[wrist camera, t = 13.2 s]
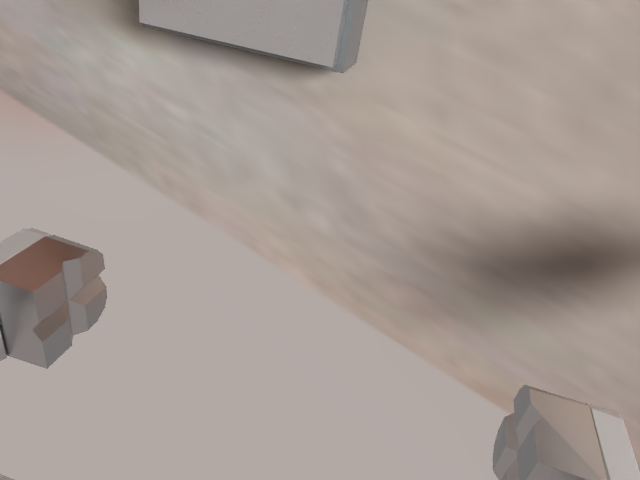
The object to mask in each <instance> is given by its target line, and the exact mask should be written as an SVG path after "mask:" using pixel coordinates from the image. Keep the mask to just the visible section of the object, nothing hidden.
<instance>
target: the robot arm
mask: <svg viewBox="0 0 640 480" xmlns="http://www.w3.org/2000/svg"><path fill="white" fill-rule="evenodd" d="M104 269H105V268H104V259H103V254H102V253H100V252H99V251H98V250H96V249H93V248H90V247H87V246H84V245H81V244H79V243H75V242H73V241H69V240H67V239H64V238H61V237H58V236H55V235H51V234H48V233H45V232H42V231H39V230H36V229H33V228H31V229H22V230H21V231H19V232H17V233H16V234H14V235H12V236H10V237H9V238H7V239H5V240H4V241H2V242H0V361H1V360H3V359H5V358H7V356H10V357H13V358H16V359H20V360H23V361H26V362H29V363H31V364H34V365H37V366H40V367H44V368H48V367H49V366H50V365H51V364H53V363H54V362H55V361H56V360H57V359H58V358H59V357H60V356H61V355H62V354H63V353H64V352H65V351H66V350H68V349H69V348H70V347H71V346H72V339H73V335H76V334H79V333H82V332H85V331H88V330H89V329H90V328H91V327H92V326H93V325H94V324H95V323H96V322H97V321H98V319H99V317H100V315H101V314H102V312H103V310H104V308H105V303H106V299H107V290H106V286H105V284H104V283H103V281H102V280H101V278H100V277H99V274H100V273H101V272H102V271H103V270H104ZM6 355H7V356H6ZM493 471H494V473H495V474H496V476H497V478H498V479H499V480H640V472H639V469H638V466H637V462H636V459H635V456H634V453H633V450H632V446H631V443H630V440H629V437H628V434H627V430H626V427H625V424H624V421H623V418H622V417H621V416H620V414H619V413H618V412H615V411H611V410H608V409H605V408H601V407H598V406H594V405H591V404H588V403H585V404H584V403H582V402H579V401H576V400H572V399H569V398H566V397H563V396H560V395H556V394H553V393H550V392H547V391H543V390H540V389H537V388H534V387H530V386H527V385H524V386H523V387H522V388H521V389H520V390H519V391H518V393H517V395H516V397H515V399H514V413H513V414H511V415H508V416H506V417H504V419H503V421H502V424H501V426H500V428H499V430H498V433H497V437H496V440H495V444H494V452H493ZM0 480H13V479H11V478H9V477H6V476H4V475H1V474H0Z"/></svg>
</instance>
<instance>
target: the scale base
mask: <svg viewBox="0 0 640 480" xmlns="http://www.w3.org/2000/svg"><path fill="white" fill-rule="evenodd" d="M367 2H368V0H348V4H347V10H346V16H345V21H344V27H343V33H342V39H341V45H340V50H339V56H338V62H337V65H335V66H334V67H333V68H332V67H328V66H324V65H320V64H315V63H311V62H307V61H303V60H298V59H294V58H290V57H285V56H281V55H277V54H273V53H268V52H264V51H260V50H255V49H251V48H247V47H243V46H238V45H234V44H230V43H226V42H221V41H217V40H213V39H208V38H204V37H200V36H196V35H191V34H187V33H183V32H178V31H174V30H170V29H166V28H161V27H157V26H153V25H149V24H144V23H143V25H144V27H148V28H152V29H156V30H161V31H165V32H169V33H174V34H178V35H182V36H186V37H191V38H195V39H199V40H203V41H208V42H212V43H216V44H220V45H225V46H229V47H233V48H237V49H242V50H246V51H250V52H254V53H259V54H263V55H267V56H271V57H276V58H280V59H284V60H288V61H293V62H297V63H301V64H306V65H310V66H314V67H318V68H323V69H327V70H331V71H335V72H340V73H344V72H345V71H347V70H348V69H349V68H350V67H351V66H353V65H354V64H355V63H356V60H357V55H358V49H359V44H360V39H361V34H362V28H363V23H364V18H365V13H366V7H367Z"/></svg>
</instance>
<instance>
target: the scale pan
mask: <svg viewBox="0 0 640 480" xmlns="http://www.w3.org/2000/svg"><path fill="white" fill-rule="evenodd" d="M347 4H348V0H139V22H140V23H144V24H149V25H153V26H157V27H161V28H166V29H170V30H174V31H178V32H183V33H187V34H191V35H196V36H200V37H204V38H208V39H213V40H217V41H221V42H226V43H230V44H234V45H238V46H243V47H247V48H251V49H255V50H260V51H264V52H268V53H273V54H277V55H281V56H285V57H290V58H294V59H298V60H303V61H307V62H311V63H315V64H320V65H324V66H328V67H332V68H333V67H334V66H335V65H337V62H338V56H339V50H340V45H341V39H342V33H343V27H344V21H345V16H346V10H347Z"/></svg>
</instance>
